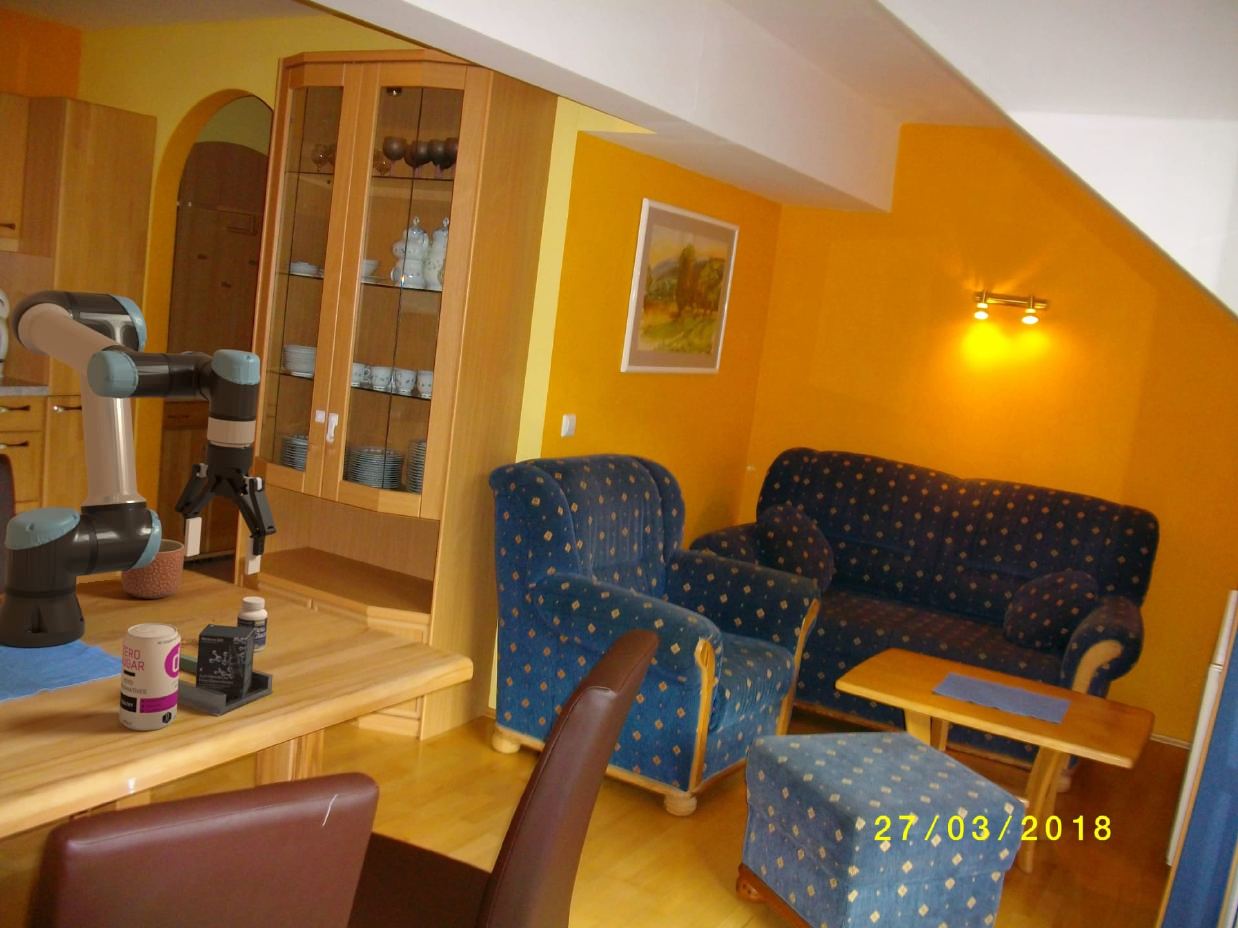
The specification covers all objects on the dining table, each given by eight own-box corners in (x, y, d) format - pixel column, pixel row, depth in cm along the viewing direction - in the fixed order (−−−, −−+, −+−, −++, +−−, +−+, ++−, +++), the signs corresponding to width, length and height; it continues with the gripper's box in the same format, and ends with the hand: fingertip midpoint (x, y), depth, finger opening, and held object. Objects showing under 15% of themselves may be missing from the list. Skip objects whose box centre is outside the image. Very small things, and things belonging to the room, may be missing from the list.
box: (194, 694, 173) (198, 633, 171) (204, 682, 178) (208, 622, 177) (243, 698, 174) (247, 637, 172) (252, 685, 179) (255, 626, 178)
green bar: (154, 660, 189) (154, 649, 188) (160, 658, 190) (161, 647, 190) (214, 678, 184) (214, 667, 183) (220, 676, 185) (221, 665, 185)
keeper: (171, 701, 172) (172, 681, 171) (228, 679, 184) (229, 660, 183) (218, 716, 168) (219, 696, 168) (273, 692, 180) (274, 673, 180)
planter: (186, 601, 223) (189, 551, 222) (122, 604, 217) (125, 553, 215) (176, 585, 234) (179, 537, 232) (115, 587, 227) (118, 538, 225)
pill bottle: (255, 654, 197) (258, 605, 196) (229, 649, 198) (232, 600, 197) (270, 646, 202) (273, 598, 201) (245, 641, 203) (248, 593, 202)
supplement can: (184, 713, 168) (189, 624, 166) (163, 734, 160) (168, 641, 158) (133, 708, 168) (137, 619, 165) (109, 729, 159) (113, 635, 157)
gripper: (304, 454, 175) (293, 575, 178) (191, 428, 184) (183, 544, 187) (273, 458, 168) (262, 584, 171) (157, 431, 177) (150, 551, 181)
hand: (221, 563), depth 179 cm, fingers open, 13 cm apart
